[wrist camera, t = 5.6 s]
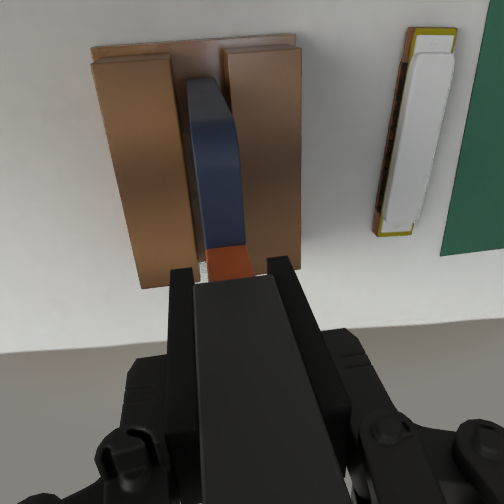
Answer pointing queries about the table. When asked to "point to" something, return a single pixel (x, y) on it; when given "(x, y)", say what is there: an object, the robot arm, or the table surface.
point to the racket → (248, 347)
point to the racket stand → (181, 152)
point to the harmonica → (414, 128)
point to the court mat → (481, 153)
